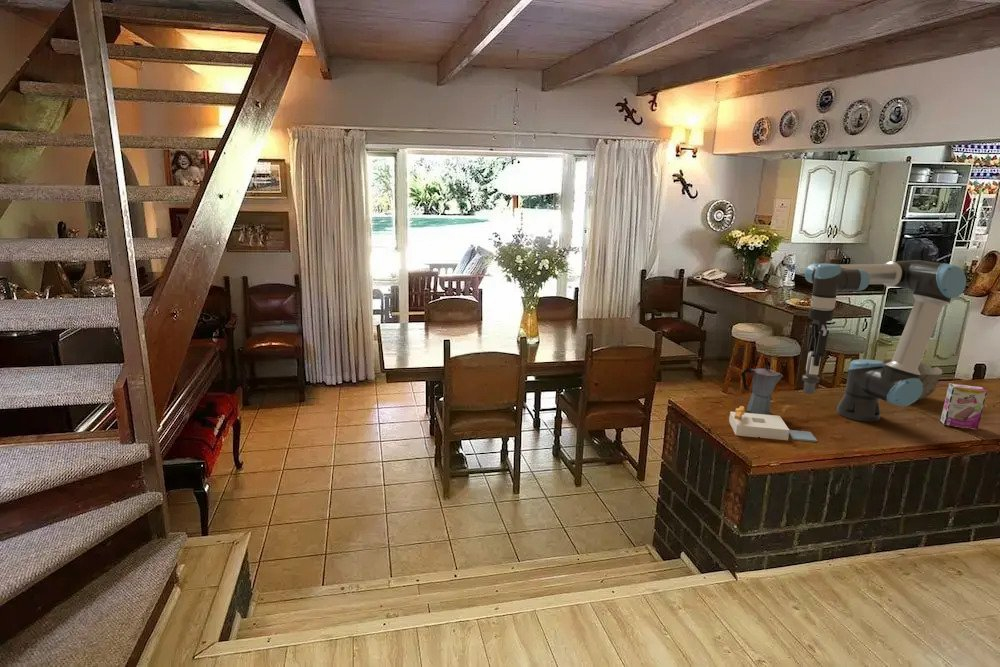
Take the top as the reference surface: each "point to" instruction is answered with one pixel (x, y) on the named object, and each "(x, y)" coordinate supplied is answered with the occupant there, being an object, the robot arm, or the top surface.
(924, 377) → the bowl
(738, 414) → the orange bar with knob
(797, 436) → the pad
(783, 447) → the top surface
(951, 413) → the candy bar box
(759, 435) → the socket board
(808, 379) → the plug
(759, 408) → the moka pot
